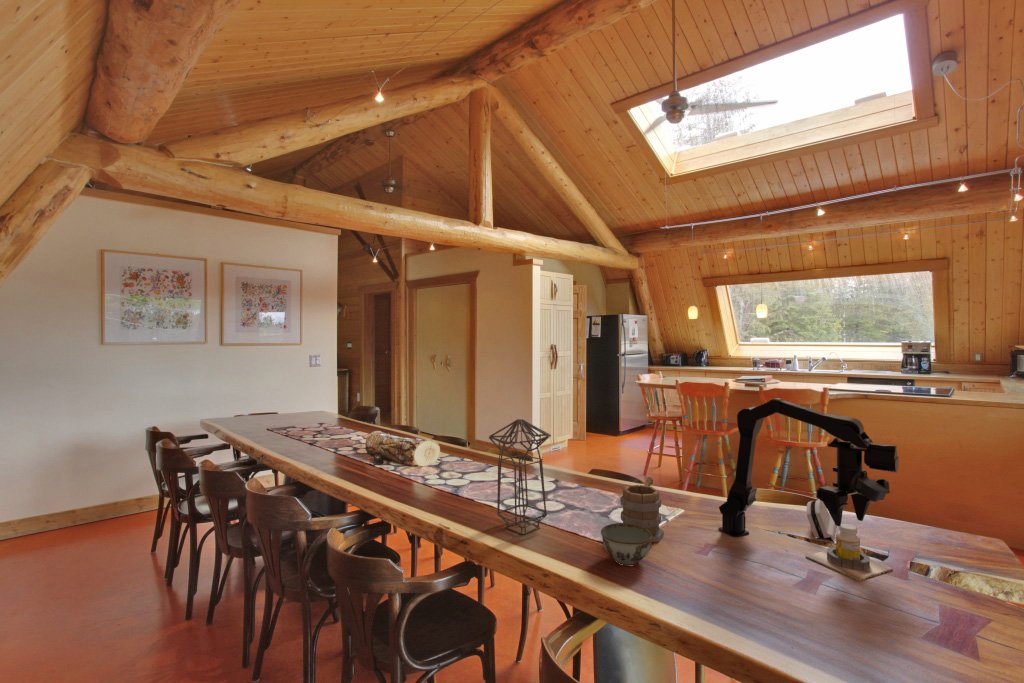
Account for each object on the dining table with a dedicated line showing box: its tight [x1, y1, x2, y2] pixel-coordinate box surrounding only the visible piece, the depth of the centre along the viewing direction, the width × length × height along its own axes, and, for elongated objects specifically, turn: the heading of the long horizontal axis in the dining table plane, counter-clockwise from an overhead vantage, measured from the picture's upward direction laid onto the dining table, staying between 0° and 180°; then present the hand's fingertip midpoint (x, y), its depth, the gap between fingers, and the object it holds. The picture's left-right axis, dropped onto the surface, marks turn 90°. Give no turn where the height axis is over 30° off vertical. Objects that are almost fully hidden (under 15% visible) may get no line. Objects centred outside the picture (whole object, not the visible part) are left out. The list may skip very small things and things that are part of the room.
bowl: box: [600, 522, 652, 566], centre depth 133 cm, size 14×13×8 cm
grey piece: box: [806, 499, 838, 541], centre depth 154 cm, size 17×5×10 cm, turn 144°
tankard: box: [620, 476, 665, 543], centre depth 154 cm, size 20×13×15 cm, turn 148°
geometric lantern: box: [488, 418, 552, 535], centre depth 156 cm, size 16×16×35 cm
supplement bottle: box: [835, 523, 861, 561], centre depth 131 cm, size 5×5×10 cm
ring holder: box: [805, 546, 894, 582], centre depth 131 cm, size 14×14×2 cm
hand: (849, 523), depth 131 cm, fingers open, 9 cm apart
